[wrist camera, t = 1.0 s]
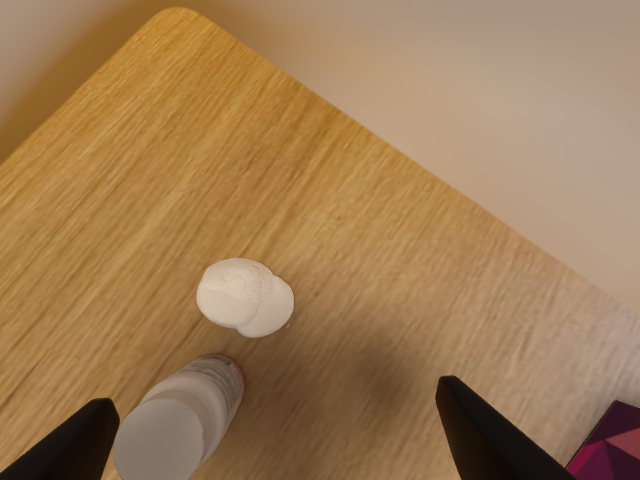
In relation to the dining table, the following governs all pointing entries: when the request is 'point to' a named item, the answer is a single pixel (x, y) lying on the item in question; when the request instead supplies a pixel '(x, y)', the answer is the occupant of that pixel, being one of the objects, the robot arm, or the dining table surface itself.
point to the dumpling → (245, 297)
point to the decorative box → (611, 447)
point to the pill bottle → (179, 421)
